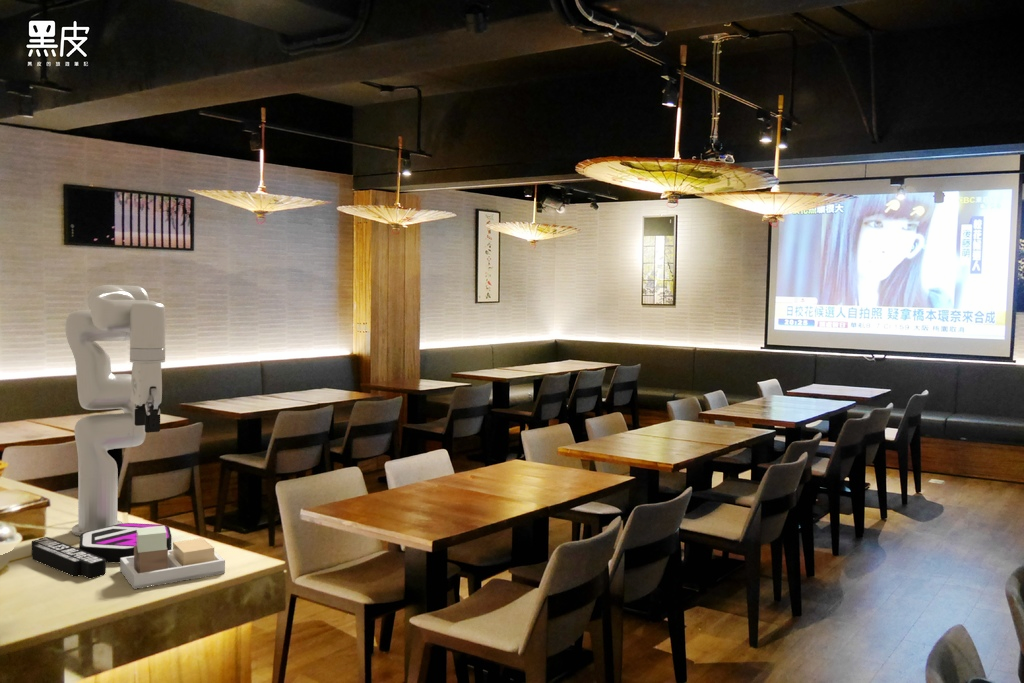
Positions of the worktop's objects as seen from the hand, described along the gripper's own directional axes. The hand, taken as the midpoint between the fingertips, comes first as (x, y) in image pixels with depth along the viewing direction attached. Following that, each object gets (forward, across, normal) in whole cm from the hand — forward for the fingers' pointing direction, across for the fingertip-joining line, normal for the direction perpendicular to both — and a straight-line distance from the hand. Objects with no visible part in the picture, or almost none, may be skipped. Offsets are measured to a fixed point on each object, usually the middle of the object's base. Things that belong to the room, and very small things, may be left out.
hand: (147, 428), depth 193 cm
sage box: (+27, +4, 0) cm, 28 cm away
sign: (+35, -19, -4) cm, 40 cm away
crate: (+34, +4, +5) cm, 35 cm away
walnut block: (+33, +3, 0) cm, 33 cm away
